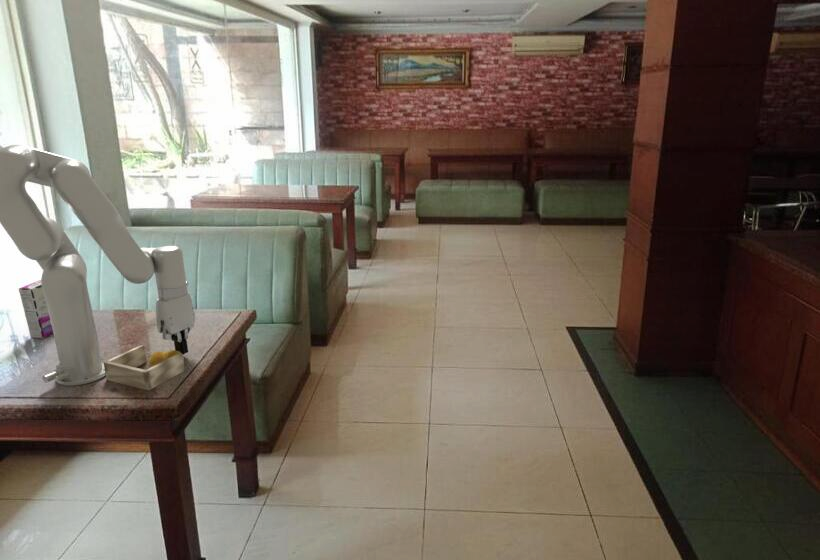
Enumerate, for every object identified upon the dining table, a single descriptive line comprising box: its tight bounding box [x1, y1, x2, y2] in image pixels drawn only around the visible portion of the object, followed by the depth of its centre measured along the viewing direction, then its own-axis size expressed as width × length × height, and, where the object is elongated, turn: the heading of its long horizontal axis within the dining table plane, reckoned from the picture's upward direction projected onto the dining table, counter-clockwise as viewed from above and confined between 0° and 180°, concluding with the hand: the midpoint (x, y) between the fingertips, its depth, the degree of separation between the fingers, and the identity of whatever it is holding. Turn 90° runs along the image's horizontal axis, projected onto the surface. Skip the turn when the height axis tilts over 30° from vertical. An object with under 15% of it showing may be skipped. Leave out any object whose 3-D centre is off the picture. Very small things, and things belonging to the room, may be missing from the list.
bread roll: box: [147, 349, 185, 369], centre depth 158 cm, size 8×9×4 cm
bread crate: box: [102, 344, 186, 391], centre depth 152 cm, size 12×15×5 cm
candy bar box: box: [18, 279, 54, 339], centre depth 181 cm, size 11×5×16 cm, turn 170°
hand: (181, 352), depth 163 cm, fingers closed
